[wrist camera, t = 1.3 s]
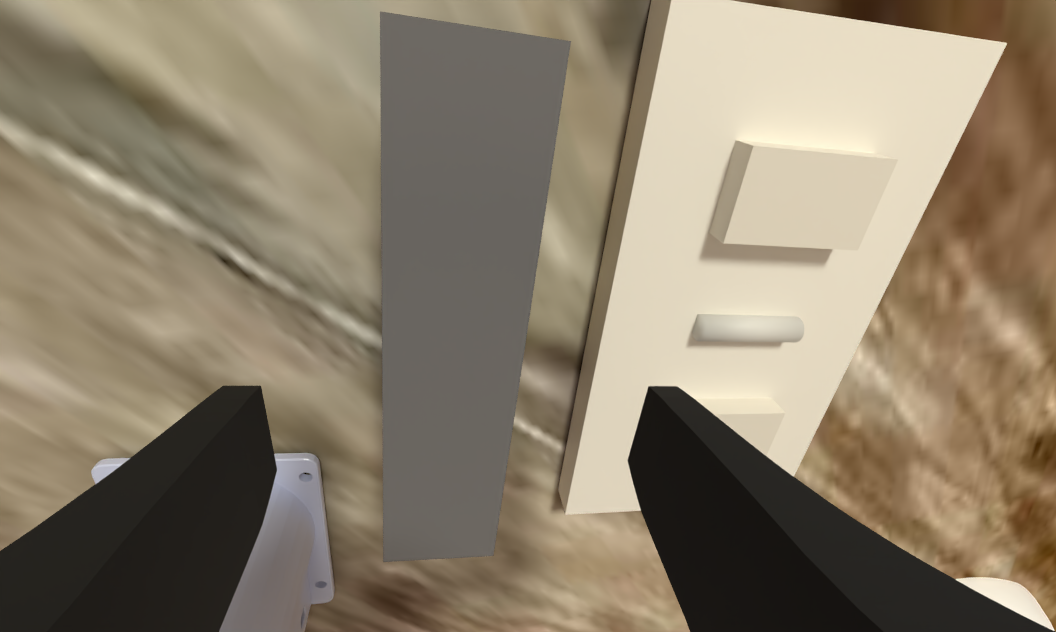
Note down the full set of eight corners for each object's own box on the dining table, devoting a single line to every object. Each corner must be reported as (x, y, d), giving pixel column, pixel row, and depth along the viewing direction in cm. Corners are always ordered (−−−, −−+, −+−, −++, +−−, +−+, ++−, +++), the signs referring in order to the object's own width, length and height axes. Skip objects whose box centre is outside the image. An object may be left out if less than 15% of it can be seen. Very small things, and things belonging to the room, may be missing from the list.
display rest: (763, 479, 26) (793, 519, 24) (558, 488, 24) (570, 533, 22) (962, 42, 16) (1041, 43, 14) (652, -5, 14) (689, -12, 12)
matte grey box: (480, 432, 22) (493, 555, 16) (397, 432, 21) (383, 562, 16) (523, 40, 15) (570, 41, 9) (401, 22, 14) (380, 11, 9)
